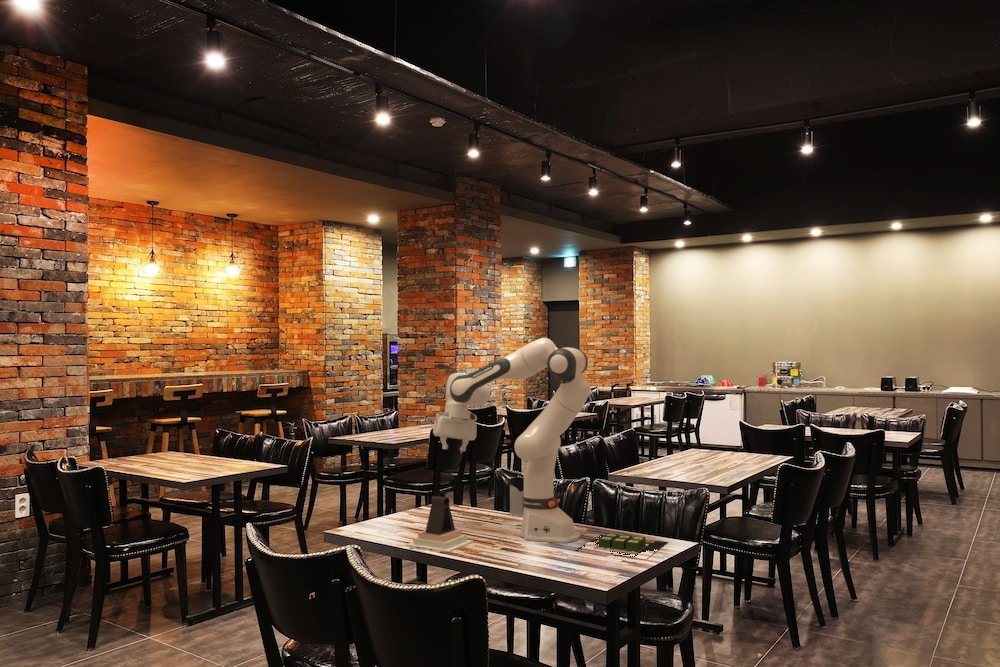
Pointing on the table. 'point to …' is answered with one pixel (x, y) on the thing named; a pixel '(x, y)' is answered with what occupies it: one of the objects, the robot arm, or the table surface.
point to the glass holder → (516, 496)
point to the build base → (440, 540)
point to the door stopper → (440, 516)
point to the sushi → (627, 543)
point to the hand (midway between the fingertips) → (453, 450)
